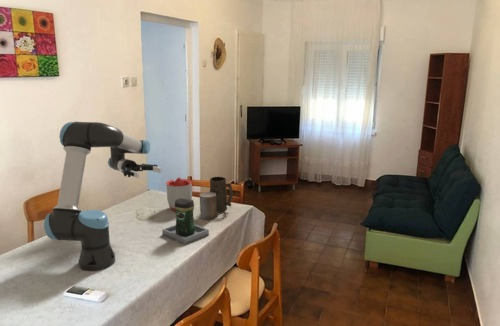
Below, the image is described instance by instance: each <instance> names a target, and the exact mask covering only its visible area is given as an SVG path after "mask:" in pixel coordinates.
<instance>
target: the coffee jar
mask: <svg viewBox="0 0 500 326" xmlns="http://www.w3.org/2000/svg"><path fill="white" fill-rule="evenodd" d="M194 209H195V202H194V200H193V199H192V200H189V199H182V198H179V199H177V200H176V201H175V210H176V211H175V216H176V217H175V225H176V233H177V234H179V235H184V236H189V235H192V234H194V232H195V225H196V224H195V219H194ZM194 224H195V225H194Z"/></svg>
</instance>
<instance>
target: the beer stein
mask: <svg viewBox="0 0 500 326" xmlns="http://www.w3.org/2000/svg"><path fill="white" fill-rule="evenodd" d="M209 185H210V186H209V192H213V193H216V204H217V205H216V206H217V213H221V212H225V211H227V209H228V207H232V202H231V201H232V199H233V196H234V191H233V187H232V183H231V182H228V183H227V179H226V178H225V177H224V176H223V177H222V176H214V177H213V176H212V177H210V179H209ZM227 189H229V190H227ZM227 191H229V193H228V192H227ZM228 195H229V196H228Z"/></svg>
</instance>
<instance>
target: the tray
mask: <svg viewBox="0 0 500 326" xmlns="http://www.w3.org/2000/svg"><path fill="white" fill-rule="evenodd" d="M194 225H195V232H194V234H192V235H189V236H184V235H179V234H177V233H176V224H174V225H171V226H169V227H166V228H162V230H161V231H162V235H163V236H164V237H166V238H168V239H171V240H173V241H176V242H177V243H180V244H181V245H184V246H185V245H188V244H190V243H193V242H194V241H195V242H196V241H197V240H200V239H203V238H205V237H208V236H209V235H210V233H209V232H210V231H209V229H208V228H205V227H203V226H200V225H198V224H195V223H194Z"/></svg>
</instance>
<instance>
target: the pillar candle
mask: <svg viewBox="0 0 500 326" xmlns="http://www.w3.org/2000/svg"><path fill="white" fill-rule="evenodd" d="M216 205H217V204H216V193H213V192H210V191H208V192H207V191H205V192H202V193H200V194H199V209H200V210H199V211H200V213H199V215H200V218H201V219H202V220H207V221H208V220H214V219H216V218H217V217H218V215H217V214H218V212H217V206H216Z"/></svg>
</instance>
